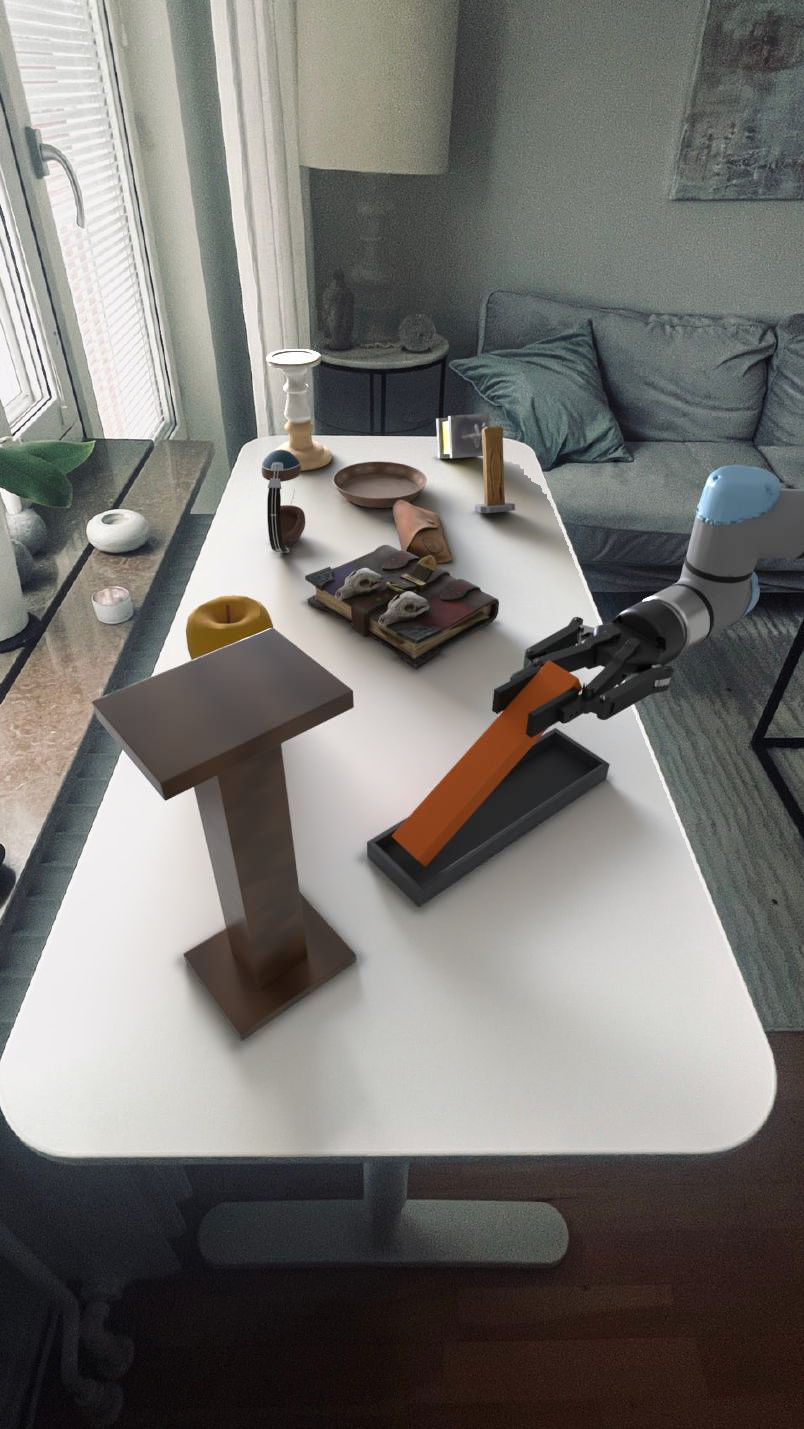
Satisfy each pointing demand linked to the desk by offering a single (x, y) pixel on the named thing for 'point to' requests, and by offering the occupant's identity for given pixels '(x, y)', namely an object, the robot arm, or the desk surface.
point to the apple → (224, 623)
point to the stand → (241, 809)
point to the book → (403, 602)
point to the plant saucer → (379, 483)
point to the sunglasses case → (420, 532)
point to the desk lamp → (477, 453)
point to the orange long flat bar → (480, 768)
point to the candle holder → (299, 407)
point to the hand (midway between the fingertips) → (512, 713)
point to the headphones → (281, 519)
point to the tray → (496, 816)
